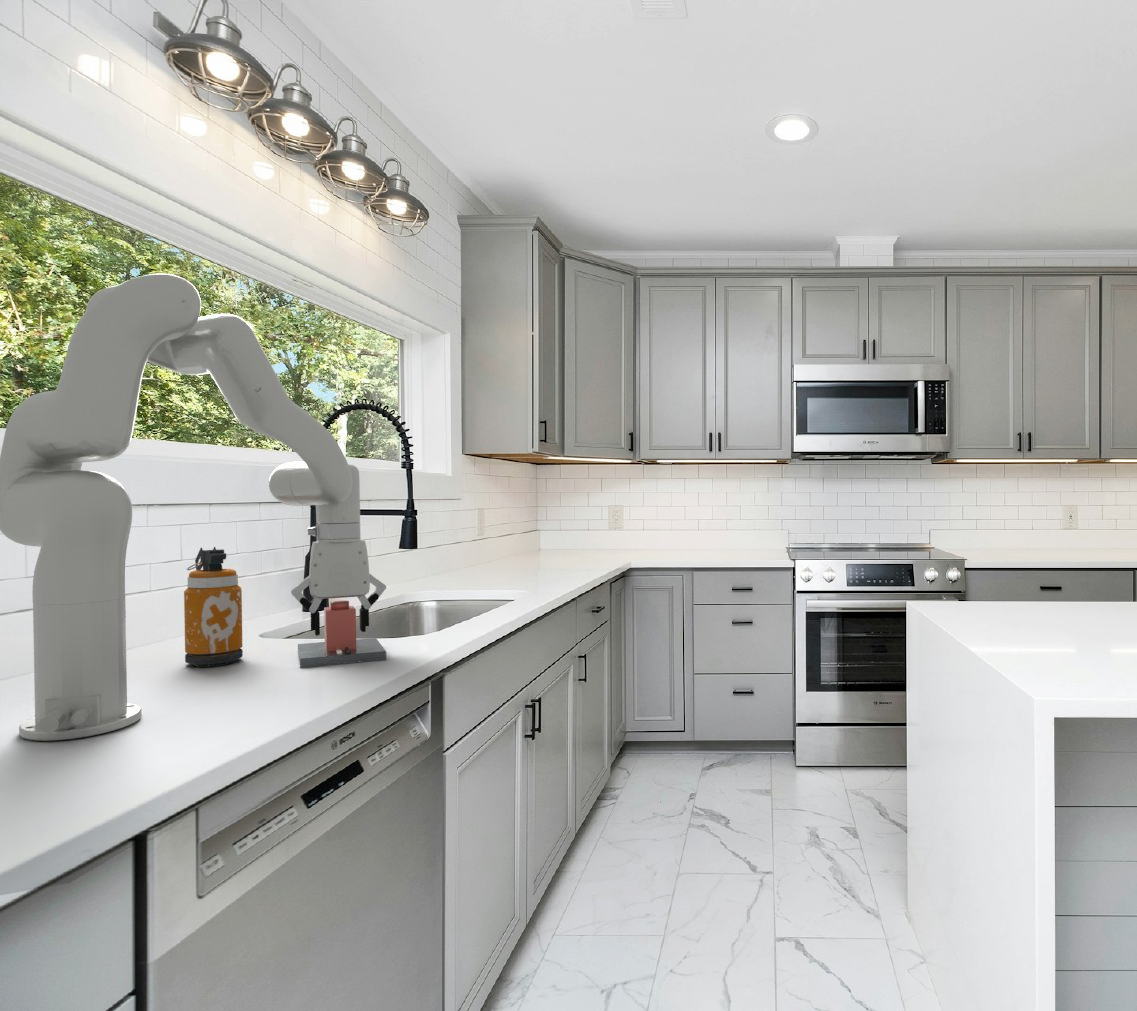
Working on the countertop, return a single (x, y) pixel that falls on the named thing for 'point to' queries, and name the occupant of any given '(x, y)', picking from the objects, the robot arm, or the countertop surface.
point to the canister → (212, 612)
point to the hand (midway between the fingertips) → (340, 631)
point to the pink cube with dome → (340, 626)
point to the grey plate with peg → (340, 653)
